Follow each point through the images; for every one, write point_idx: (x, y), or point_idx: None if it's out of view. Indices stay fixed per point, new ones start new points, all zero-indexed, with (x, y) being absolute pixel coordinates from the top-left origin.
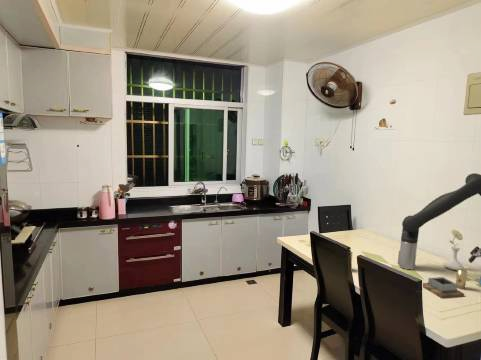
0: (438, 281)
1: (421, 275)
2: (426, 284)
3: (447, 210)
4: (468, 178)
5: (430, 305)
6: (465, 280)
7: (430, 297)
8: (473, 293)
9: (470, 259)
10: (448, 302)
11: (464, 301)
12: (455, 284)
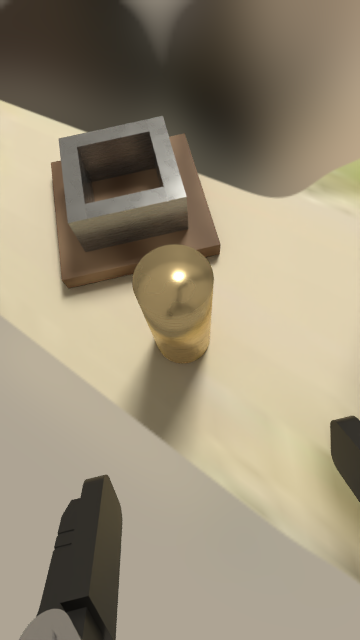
0: (159, 176)
1: (339, 201)
2: (173, 150)
3: None
4: None
5: (3, 113)
6: (150, 328)
7: None
8: (102, 372)
9: (348, 435)
10: (16, 184)
11: (15, 258)
12: (70, 211)
